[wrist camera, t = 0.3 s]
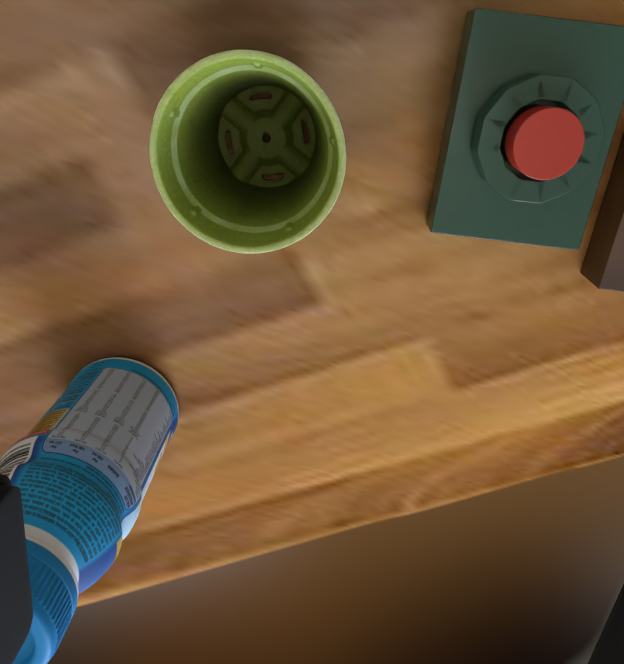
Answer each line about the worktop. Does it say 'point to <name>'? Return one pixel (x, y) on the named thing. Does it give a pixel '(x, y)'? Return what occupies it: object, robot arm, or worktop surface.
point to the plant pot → (247, 151)
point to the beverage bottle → (86, 485)
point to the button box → (505, 106)
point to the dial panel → (609, 235)
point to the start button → (544, 142)
